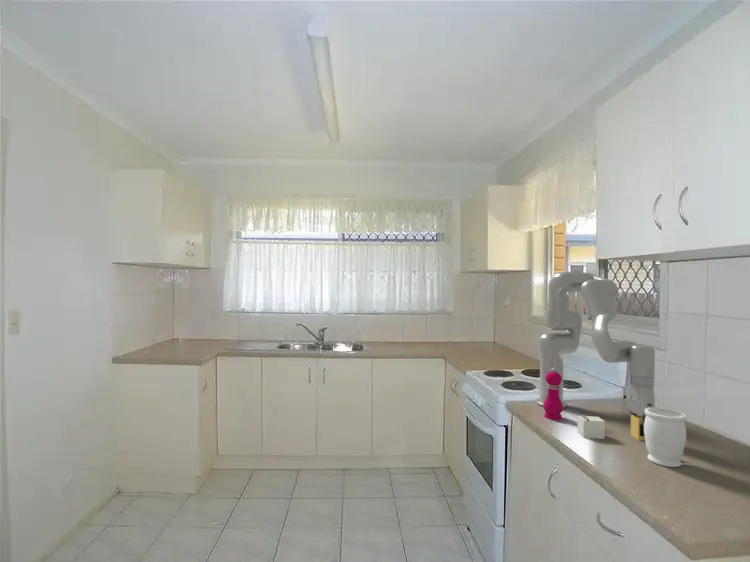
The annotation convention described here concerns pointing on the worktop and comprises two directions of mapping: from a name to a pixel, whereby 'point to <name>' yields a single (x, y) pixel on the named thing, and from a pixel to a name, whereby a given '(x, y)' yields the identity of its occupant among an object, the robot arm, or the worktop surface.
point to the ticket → (591, 427)
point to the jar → (665, 436)
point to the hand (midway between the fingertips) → (640, 432)
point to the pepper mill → (553, 396)
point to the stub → (636, 427)
